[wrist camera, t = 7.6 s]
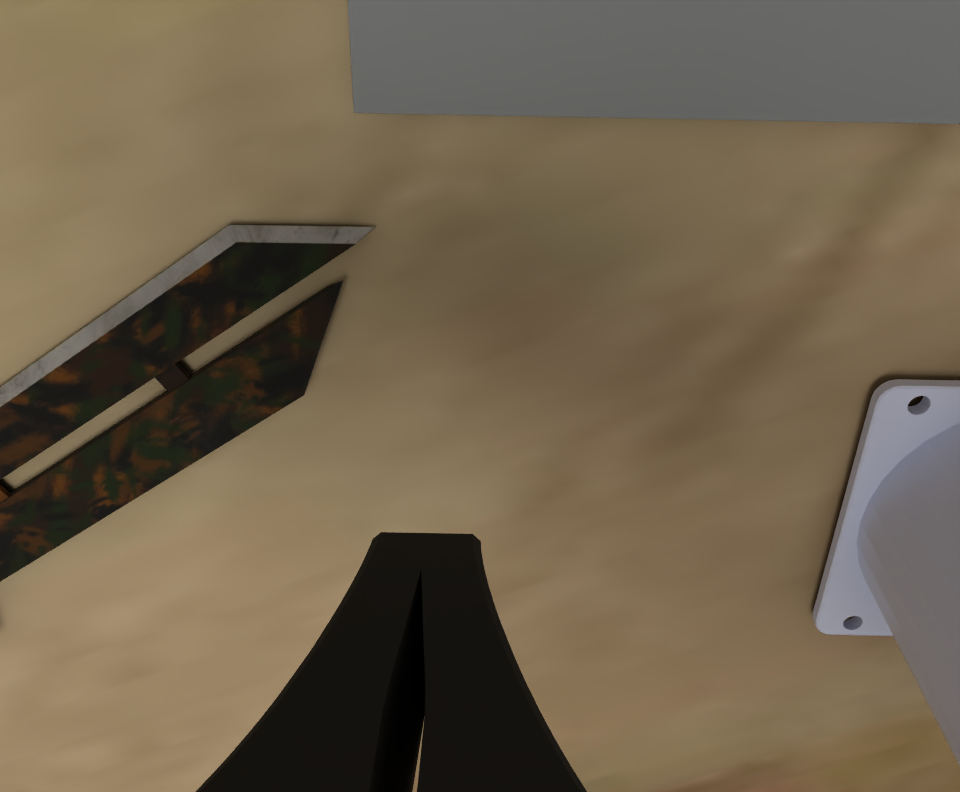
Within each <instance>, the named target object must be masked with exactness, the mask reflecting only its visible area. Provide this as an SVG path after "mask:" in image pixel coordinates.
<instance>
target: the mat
mask: <svg viewBox="0 0 960 792" xmlns="http://www.w3.org/2000/svg"><path fill="white" fill-rule="evenodd" d="M348 13H349V32H350V51H351V69H352V88H353V107H354V113H389V114H443V115H497V116H551V117H605V118H659V119H713V120H767V121H821V122H875V123H929V124H960V0H348Z"/></svg>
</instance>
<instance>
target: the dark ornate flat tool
mask: <svg viewBox="0 0 960 792" xmlns="http://www.w3.org/2000/svg"><path fill="white" fill-rule="evenodd" d="M374 228H375V227H351V226H281V225H228V226H227V227H225V228H224V229H223V230H221V231H220V232H218V233H217V234H216V235H214V236H213V237H211V238H210V239H209V240H207V241H206V242H204V243H203V244H201V245H200V246H199V247H197V248H196V249H194V250H193V251H192V252H190V253H189V254H187V255H186V256H184V257H183V258H182V259H180V260H179V261H177V262H176V263H175V264H173V265H172V266H170V267H169V268H167V269H166V270H165V271H163V272H162V273H160V274H159V275H158V276H156V277H155V278H153V279H152V280H151V281H149V282H148V283H146V284H145V285H143V286H142V287H141V288H139V289H138V290H136V291H135V292H134V293H132V294H131V295H129V296H128V297H126V298H125V299H124V300H122V301H121V302H119V303H118V304H117V305H115V306H114V307H112V308H111V309H110V310H108V311H107V312H105V313H104V314H102V315H101V316H100V317H98V318H97V319H95V320H94V321H93V322H91V323H90V324H88V325H87V326H85V327H84V328H83V329H81V330H80V331H78V332H77V333H76V334H74V335H73V336H71V337H70V338H69V339H67V340H66V341H64V342H63V343H61V344H60V345H59V346H57V347H56V348H54V349H53V350H52V351H50V352H49V353H47V354H46V355H44V356H43V357H42V358H40V359H39V360H37V361H36V362H35V363H33V364H32V365H30V366H29V367H28V368H26V369H25V370H23V371H22V372H20V373H19V374H18V375H16V376H15V377H13V378H12V379H11V380H9V381H8V382H6V383H5V384H3V385H2V386H1V387H0V479H2V478H3V477H5V476H6V475H8V474H9V473H11V472H12V471H14V470H15V469H17V468H18V467H20V466H21V465H23V464H24V463H26V462H28V461H29V460H31V459H32V458H34V457H35V456H37V455H38V454H40V453H41V452H43V451H44V450H46V449H47V448H49V447H50V446H52V445H53V444H55V443H56V442H58V441H59V440H61V439H62V438H64V437H65V436H67V435H68V434H70V433H71V432H73V431H74V430H76V429H77V428H79V427H80V426H82V425H83V424H85V423H86V422H88V421H89V420H91V419H92V418H94V417H95V416H97V415H98V414H100V413H101V412H103V411H104V410H106V409H107V408H109V407H110V406H112V405H114V404H115V403H117V402H118V401H120V400H121V399H123V398H124V397H126V396H127V395H129V394H130V393H132V392H133V391H135V390H136V389H138V388H139V387H141V386H142V385H144V384H145V383H147V382H148V381H150V380H151V379H153V378H154V377H155V378H156V379H157V380H158V381H159V382H160V383H161V384H162V385H163V387H164V388H165V389H166V390H167V392H165V393H164V394H162V395H161V396H159V397H158V398H156V399H155V400H153V401H151V402H150V403H148V404H147V405H145V406H144V407H142V408H141V409H139V410H138V411H136V412H135V413H133V414H132V415H130V416H129V417H127V418H125V419H124V420H122V421H121V422H119V423H118V424H116V425H115V426H113V427H112V428H110V429H109V430H107V431H106V432H104V433H102V434H101V435H99V436H98V437H96V438H95V439H93V440H92V441H90V442H89V443H87V444H86V445H84V446H83V447H81V448H79V449H78V450H76V451H75V452H73V453H72V454H70V455H69V456H67V457H66V458H64V459H63V460H61V461H60V462H58V463H57V464H55V465H53V466H52V467H50V468H49V469H47V470H46V471H44V472H43V473H41V474H40V475H38V476H37V477H35V478H34V479H32V480H30V481H29V482H27V483H26V484H24V485H23V486H21V487H20V488H18V489H17V490H15V491H14V492H12V493H11V494H10V493H9V492H8V491H7V490H6V489H5V488H4V487H2V486H1V485H0V581H2V580H4V579H5V578H7V577H8V576H10V575H12V574H13V573H15V572H17V571H18V570H20V569H21V568H23V567H25V566H26V565H28V564H30V563H31V562H33V561H34V560H36V559H38V558H39V557H41V556H43V555H44V554H46V553H48V552H49V551H51V550H52V549H54V548H56V547H57V546H59V545H61V544H62V543H64V542H65V541H67V540H69V539H70V538H72V537H74V536H75V535H77V534H78V533H80V532H82V531H83V530H85V529H87V528H88V527H90V526H91V525H93V524H95V523H96V522H98V521H100V520H101V519H103V518H105V517H106V516H108V515H109V514H111V513H113V512H114V511H116V510H118V509H119V508H121V507H122V506H124V505H126V504H127V503H129V502H131V501H132V500H134V499H135V498H137V497H139V496H140V495H142V494H144V493H145V492H147V491H149V490H150V489H152V488H153V487H155V486H157V485H158V484H160V483H162V482H163V481H165V480H166V479H168V478H170V477H171V476H173V475H175V474H176V473H178V472H179V471H181V470H183V469H184V468H186V467H188V466H189V465H191V464H192V463H194V462H196V461H197V460H199V459H201V458H202V457H204V456H206V455H207V454H209V453H210V452H212V451H214V450H215V449H217V448H219V447H220V446H222V445H223V444H225V443H227V442H228V441H230V440H232V439H233V438H235V437H236V436H238V435H240V434H241V433H243V432H245V431H246V430H248V429H249V428H251V427H253V426H254V425H256V424H258V423H259V422H261V421H263V420H264V419H266V418H267V417H269V416H271V415H272V414H274V413H276V412H277V411H279V410H280V409H282V408H284V407H285V406H287V405H289V404H290V403H292V402H293V401H295V400H297V399H298V398H300V397H302V396H303V395H304V394H305V391H306V388H307V385H308V382H309V379H310V376H311V373H312V370H313V367H314V364H315V361H316V359H317V356H318V353H319V350H320V347H321V344H322V341H323V338H324V335H325V332H326V329H327V326H328V323H329V321H330V318H331V315H332V312H333V309H334V306H335V303H336V300H337V297H338V294H339V291H340V288H341V285H342V282H343V281H341V282H338V283H335V284H333V285H330V286H328V287H326V288H325V289H323V290H322V291H320V292H318V293H317V294H315V295H314V296H312V297H311V298H309V299H308V300H306V301H305V302H303V303H302V304H300V305H299V306H297V307H295V308H294V309H292V310H291V311H289V312H288V313H286V314H285V315H283V316H282V317H280V318H279V319H277V320H276V321H274V322H272V323H271V324H269V325H268V326H266V327H265V328H263V329H262V330H260V331H259V332H257V333H256V334H254V335H253V336H251V337H250V338H248V339H246V340H245V341H243V342H242V343H240V344H239V345H237V346H236V347H234V348H233V349H231V350H230V351H228V352H227V353H225V354H223V355H222V356H220V357H219V358H217V359H216V360H214V361H213V362H211V363H210V364H208V365H207V366H205V367H204V368H202V369H200V370H199V371H197V372H196V373H194V374H193V375H191V376H189V375H188V374H187V372H186V371H185V370H184V369H183V368H182V367H181V366H180V365H179V363H178V361H180V360H181V359H183V358H184V357H186V356H187V355H189V354H190V353H192V352H193V351H195V350H196V349H198V348H200V347H201V346H203V345H204V344H206V343H207V342H209V341H210V340H212V339H213V338H215V337H216V336H218V335H219V334H221V333H222V332H224V331H225V330H227V329H228V328H230V327H231V326H233V325H234V324H236V323H237V322H239V321H240V320H242V319H243V318H245V317H246V316H248V315H249V314H251V313H252V312H254V311H255V310H257V309H258V308H260V307H261V306H263V305H264V304H266V303H267V302H269V301H270V300H272V299H273V298H275V297H276V296H278V295H279V294H281V293H283V292H284V291H286V290H287V289H289V288H290V287H292V286H293V285H295V284H296V283H298V282H299V281H301V280H302V279H304V278H305V277H307V276H308V275H310V274H311V273H313V272H314V271H316V270H317V269H319V268H320V267H322V266H323V265H325V264H326V263H328V262H329V261H331V260H332V259H334V258H335V257H337V256H338V255H340V254H341V253H343V252H344V251H346V250H347V249H349V248H350V247H352V246H353V245H355V244H356V243H357V242H359V241H360V240H361V239H362V238H363V237H364V236H366V235H367V234H368V233H369V232H370V231H371V230H373V229H374Z"/></svg>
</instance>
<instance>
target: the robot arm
mask: <svg viewBox="0 0 960 792" xmlns="http://www.w3.org/2000/svg"><path fill="white" fill-rule="evenodd" d="M918 396H924V397H923V399H922V401H921V402H920V403H918V404H917V405H914V406H908V404H909V402H910V401H911V400H912V399H914V398H915V397H918ZM851 616H855V617H853V618H852V619H848V620H845V619H847V618H848V617H851ZM813 620H814V623H815V625H816V627H817V629H818V630H819V631H820V632H822V633H824V634H830V635H878V636H894V638H895V640H896V642H897V644H898V646H899V648H900V650H901V652H902V654H903V656H904V658H905V660H906V662H907V664H908V666H909V668H910V670H911V672H912V674H913V676H914V678H915V679H916V681H917V683H918V685H919V687H920V689H921V691H922V693H923V695H924V697H925V699H926V701H927V703H928V705H929V707H930V709H931V711H932V713H933V715H934V717H935V719H936V721H937V723H938V725H939V727H940V728H941V730H942V732H943V734H944V736H945V738H946V740H947V742H948V744H949V746H950V748H951V750H952V752H953V754H954V756H955V758H956V760H957V762H958V764H959V766H960V380H908V379H896V380H889V381H887V382H885V383H883V384H881V385H880V386H879V387H878V388H877V389H876V390H875V391H874V393H873V395H872V397H871V401H870V404H869V408H868V412H867V415H866V419H865V423H864V426H863V430H862V434H861V437H860V441H859V445H858V448H857V452H856V456H855V459H854V463H853V467H852V470H851V474H850V478H849V481H848V485H847V489H846V492H845V496H844V500H843V504H842V507H841V511H840V515H839V518H838V522H837V526H836V529H835V533H834V537H833V540H832V544H831V548H830V551H829V555H828V559H827V562H826V566H825V570H824V573H823V577H822V581H821V584H820V588H819V592H818V595H817V599H816V603H815V606H814V610H813ZM424 716H425V718H424ZM423 722H424V728H423ZM422 728H423V738H422V748H421V759H420V769H419V778H418V788H417V792H587V791H586V790H585V788H584V786H583V785H582V783H581V782H580V780H579V778H578V777H577V775H576V774H575V772H574V771H573V769H572V767H571V766H570V764H569V762H568V761H567V759H566V757H565V755H564V754H563V752H562V750H561V749H560V747H559V745H558V743H557V742H556V740H555V738H554V736H553V735H552V733H551V731H550V729H549V727H548V725H547V724H546V722H545V720H544V718H543V716H542V714H541V712H540V710H539V708H538V706H537V704H536V702H535V700H534V698H533V696H532V694H531V692H530V690H529V688H528V686H527V684H526V682H525V680H524V678H523V675H522V673H521V671H520V669H519V666H518V664H517V662H516V660H515V657H514V655H513V652H512V650H511V647H510V645H509V642H508V640H507V637H506V635H505V632H504V630H503V627H502V625H501V622H500V619H499V617H498V614H497V611H496V608H495V605H494V602H493V599H492V595H491V592H490V589H489V586H488V582H487V578H486V574H485V570H484V565H483V559H482V553H481V541H480V540H479V539H477V538H476V537H475V536H474V535H473V534H441V533H388V532H381V533H380V534H379V535H377V536H376V537H375V538H374V539H373V540H372V543H371V545H370V547H369V550H368V552H367V554H366V556H365V559H364V561H363V563H362V565H361V567H360V569H359V571H358V573H357V575H356V577H355V578H354V580H353V582H352V584H351V586H350V588H349V589H348V591H347V593H346V595H345V596H344V598H343V600H342V602H341V603H340V605H339V607H338V608H337V610H336V612H335V613H334V615H333V616H332V618H331V620H330V621H329V623H328V624H327V626H326V628H325V629H324V631H323V632H322V634H321V636H320V637H319V639H318V640H317V642H316V643H315V645H314V646H313V648H312V649H311V651H310V652H309V654H308V655H307V657H306V658H305V659H304V661H303V662H302V664H301V665H300V666H299V668H298V669H297V671H296V672H295V673H294V675H293V676H292V678H291V679H290V680H289V682H288V683H287V684H286V686H285V687H284V689H283V690H282V691H281V693H280V694H279V696H278V697H277V698H276V700H275V701H274V702H273V703H272V705H271V706H270V707H269V709H268V710H267V711H266V712H265V714H264V715H263V716H262V717H261V719H260V720H259V721H258V722H257V724H256V725H255V726H254V727H253V728H252V730H251V731H250V732H249V733H248V734H247V736H246V737H245V738H244V739H243V740H242V741H241V743H240V744H239V745H238V746H237V747H236V748H235V750H234V751H233V752H232V753H231V754H230V755H229V756H228V758H227V759H226V760H225V761H224V762H223V763H222V764H221V765H220V766H219V767H218V768H217V770H216V771H215V772H214V773H213V774H212V775H211V776H210V777H209V778H208V779H207V780H206V781H205V782H204V783H203V784H202V786H201V787H200V788H199V789H198V790H197V791H196V792H412V790H413V784H414V778H415V772H416V766H417V759H418V753H419V747H420V741H421V735H422Z"/></svg>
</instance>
